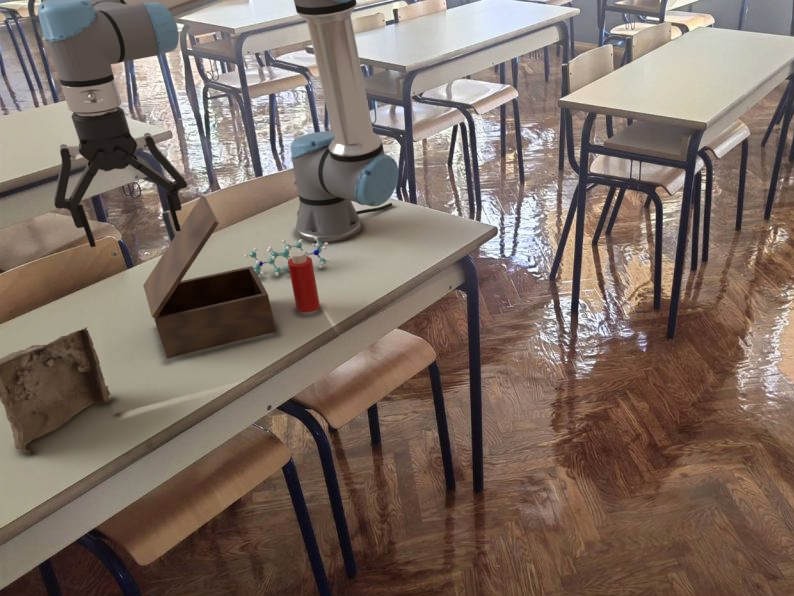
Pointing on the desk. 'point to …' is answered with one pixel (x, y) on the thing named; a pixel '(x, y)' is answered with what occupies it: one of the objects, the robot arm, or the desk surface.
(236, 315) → the storage box
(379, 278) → the desk surface
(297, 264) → the bottle
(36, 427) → the mineral sample
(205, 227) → the lid
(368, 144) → the robot arm
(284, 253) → the molecule model
